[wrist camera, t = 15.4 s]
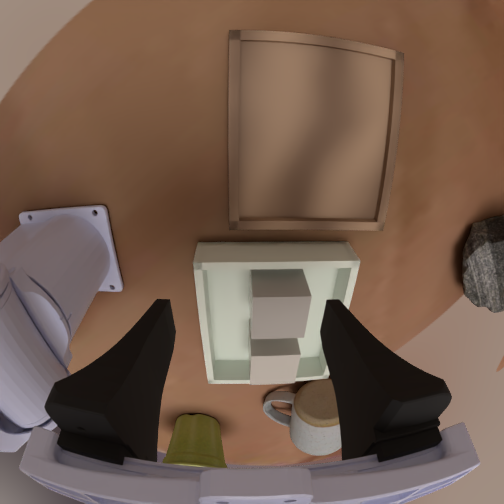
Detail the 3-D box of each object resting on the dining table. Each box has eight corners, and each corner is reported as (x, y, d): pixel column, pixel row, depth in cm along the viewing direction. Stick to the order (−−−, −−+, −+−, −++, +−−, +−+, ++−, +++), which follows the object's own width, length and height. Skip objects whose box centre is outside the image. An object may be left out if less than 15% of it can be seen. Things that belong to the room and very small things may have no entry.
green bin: (209, 361, 30) (208, 383, 28) (197, 242, 23) (193, 262, 21) (322, 357, 31) (328, 378, 28) (347, 241, 24) (360, 260, 21)
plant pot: (211, 440, 41) (210, 488, 33) (155, 423, 38) (148, 474, 30) (243, 419, 37) (246, 474, 29) (181, 399, 34) (174, 459, 26)
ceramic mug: (349, 368, 32) (365, 422, 26) (341, 403, 36) (353, 450, 30) (259, 381, 33) (262, 438, 26) (265, 414, 37) (268, 463, 30)
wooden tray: (229, 224, 23) (229, 229, 22) (229, 33, 16) (229, 30, 15) (378, 225, 23) (383, 230, 22) (397, 54, 16) (403, 53, 16)
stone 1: (249, 301, 26) (251, 339, 22) (250, 262, 24) (252, 297, 20) (294, 301, 26) (304, 337, 22) (300, 261, 24) (311, 296, 20)
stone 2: (248, 348, 29) (250, 384, 25) (248, 318, 27) (250, 356, 23) (288, 347, 29) (294, 382, 25) (292, 317, 27) (300, 354, 23)
